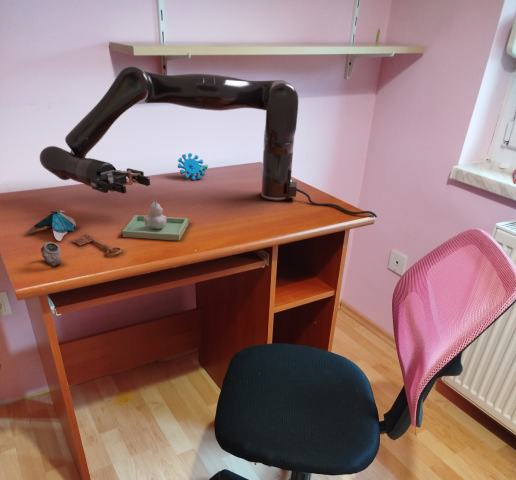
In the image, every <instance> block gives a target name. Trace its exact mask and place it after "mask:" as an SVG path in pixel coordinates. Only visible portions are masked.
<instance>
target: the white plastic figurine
mask: <svg viewBox="0 0 516 480" xmlns="http://www.w3.org/2000/svg"><path fill="white" fill-rule="evenodd" d="M157 201H158V200H157V199H155V200H154V201H152V203H151V204H150V206H149V209H148V210H149V214H147V215H145V217H144V218H143V220H144V222H145V226H146V227H149V226H150V227H152V228H154V229H161V228H163V227H165V225H166V217H167V216H165V215H164V214H163V210H164V208H162V207H161V204H159V203H158V202H157Z"/></svg>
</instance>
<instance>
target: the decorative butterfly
mask: <svg viewBox="0 0 516 480" xmlns="http://www.w3.org/2000/svg"><path fill="white" fill-rule="evenodd" d="M65 212H66V210H53V211H52V210H51V211H50V213H49V215H47V216H46V217H44V218H42V219H40V221H38V222H37V223H35V224H34V225H33V226H31V228H29V229H28V230H27V231H26V233H27V234H28V235H30V234H33V233H34V232H36V231H38V230H43V229H44V228H45V227H47V228H49V227H52V232H53V236H54V238H55V239H56V240H57V241H58V242H60V241H61V240H63V237H64V236H65V235H67V234H68V232H70V233H72V232H74V231H75V230H76V229H77V225H76V221H75V220H74V218H73V217H71V216H69V215H66V214H63V213H65Z"/></svg>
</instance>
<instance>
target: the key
mask: <svg viewBox="0 0 516 480" xmlns="http://www.w3.org/2000/svg"><path fill="white" fill-rule="evenodd" d="M72 242H73V243H75V244H76V245H78V246H80V247H81V246H83V245H86V244H88V243H91V242H93V243H95V244H97V246H100V247H102V248H103V249H105V250H106V252H105V254H106V255H107V256H116V255H119V254H121V252H122V251H123V249H122V248H121V247H112V248H111V246H108V245H107V244H105V243H103V242H101V241H99V240H98V239H95V238H94V237H92V236H90V235H88V234H86V233H84V234H83V236H81V237H79V238H76V239H73V240H72ZM114 251H116V252H114Z"/></svg>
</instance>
